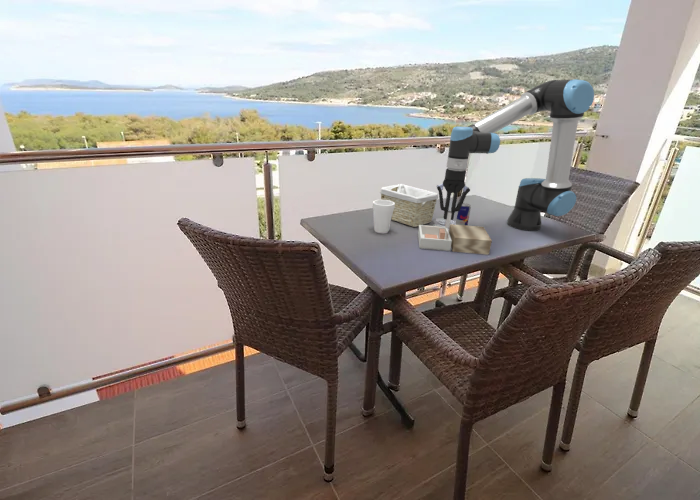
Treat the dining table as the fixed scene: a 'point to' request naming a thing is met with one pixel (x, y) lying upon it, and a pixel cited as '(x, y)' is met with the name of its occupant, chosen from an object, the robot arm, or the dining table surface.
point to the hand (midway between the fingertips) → (447, 226)
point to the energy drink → (463, 215)
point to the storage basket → (410, 204)
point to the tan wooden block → (469, 239)
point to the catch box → (433, 243)
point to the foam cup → (382, 215)
